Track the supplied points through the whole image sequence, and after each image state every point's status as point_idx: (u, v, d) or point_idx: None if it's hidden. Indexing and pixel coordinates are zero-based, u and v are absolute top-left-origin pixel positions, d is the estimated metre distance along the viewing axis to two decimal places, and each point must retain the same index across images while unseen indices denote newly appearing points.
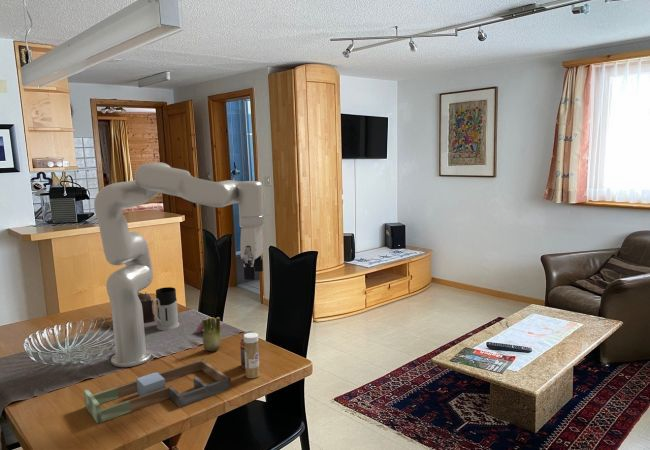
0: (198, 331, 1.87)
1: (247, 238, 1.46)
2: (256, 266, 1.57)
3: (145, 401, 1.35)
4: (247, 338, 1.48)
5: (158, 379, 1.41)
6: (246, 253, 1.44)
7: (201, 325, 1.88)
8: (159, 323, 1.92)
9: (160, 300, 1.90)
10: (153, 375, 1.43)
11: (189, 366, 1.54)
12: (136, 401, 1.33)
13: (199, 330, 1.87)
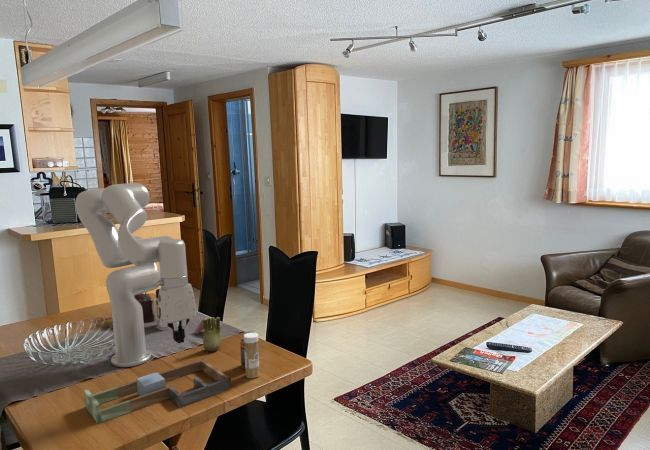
0: (197, 332, 1.87)
1: None
2: None
3: (145, 401, 1.35)
4: (247, 338, 1.48)
5: (158, 379, 1.41)
6: None
7: (200, 326, 1.87)
8: None
9: None
10: (153, 375, 1.43)
11: (189, 366, 1.54)
12: (136, 401, 1.33)
13: (198, 331, 1.87)
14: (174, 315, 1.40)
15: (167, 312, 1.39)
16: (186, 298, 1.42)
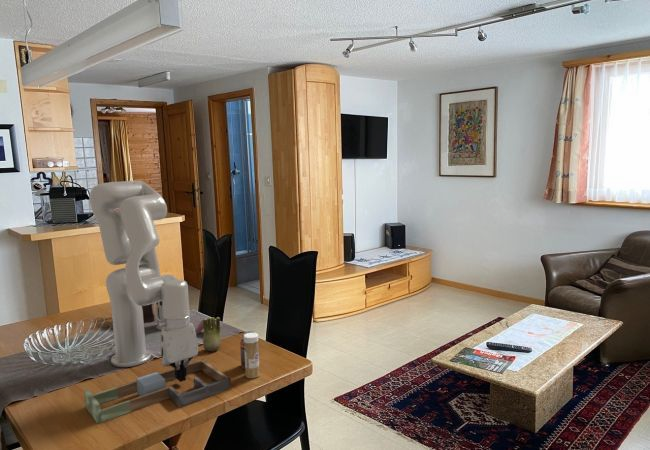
0: (197, 332, 1.86)
1: None
2: None
3: (145, 401, 1.35)
4: (247, 338, 1.48)
5: (158, 379, 1.41)
6: None
7: (200, 326, 1.87)
8: None
9: None
10: (153, 375, 1.43)
11: (189, 366, 1.54)
12: (136, 401, 1.33)
13: (198, 331, 1.87)
14: (176, 355, 1.42)
15: (169, 352, 1.41)
16: (188, 338, 1.44)
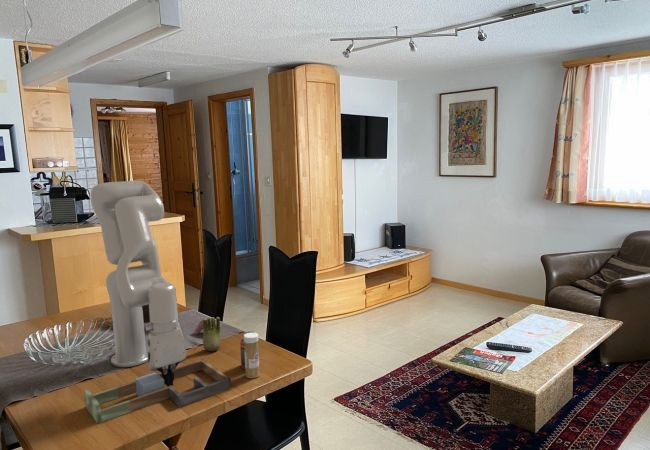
0: (196, 332, 1.86)
1: None
2: None
3: (145, 401, 1.35)
4: (247, 338, 1.48)
5: (157, 379, 1.40)
6: None
7: (199, 326, 1.87)
8: None
9: None
10: (152, 375, 1.43)
11: (189, 366, 1.54)
12: (136, 401, 1.33)
13: (197, 331, 1.86)
14: (163, 360, 1.40)
15: (156, 357, 1.39)
16: (176, 342, 1.42)
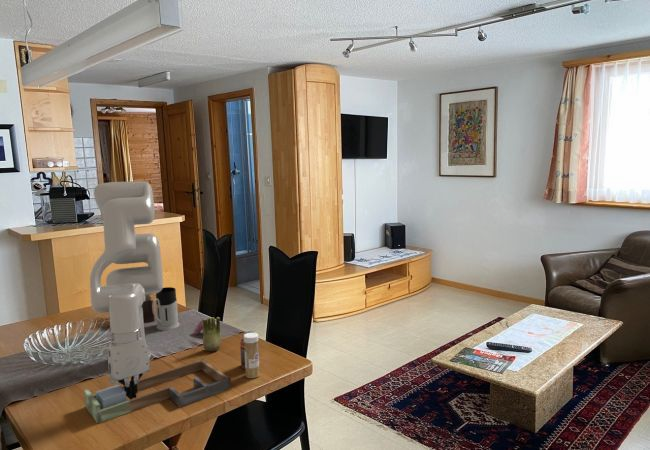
0: (196, 332, 1.86)
1: None
2: None
3: (145, 401, 1.35)
4: (247, 338, 1.48)
5: (118, 392, 1.33)
6: None
7: (199, 326, 1.87)
8: (159, 323, 1.92)
9: (160, 300, 1.90)
10: (114, 388, 1.36)
11: (189, 366, 1.54)
12: (136, 401, 1.33)
13: (197, 331, 1.86)
14: (125, 371, 1.33)
15: (117, 369, 1.32)
16: (138, 353, 1.35)
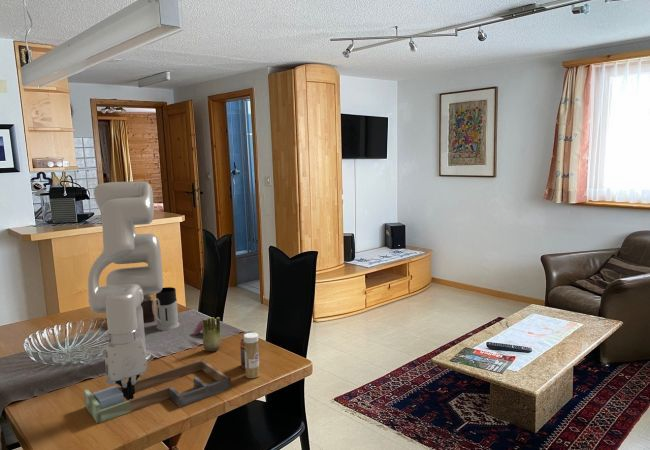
0: (195, 333, 1.86)
1: None
2: None
3: (145, 401, 1.35)
4: (247, 338, 1.48)
5: (116, 393, 1.33)
6: None
7: (198, 327, 1.86)
8: (159, 323, 1.92)
9: (160, 300, 1.90)
10: (111, 389, 1.35)
11: (189, 366, 1.54)
12: (136, 401, 1.33)
13: (196, 332, 1.86)
14: (122, 372, 1.32)
15: (114, 370, 1.31)
16: (135, 354, 1.34)
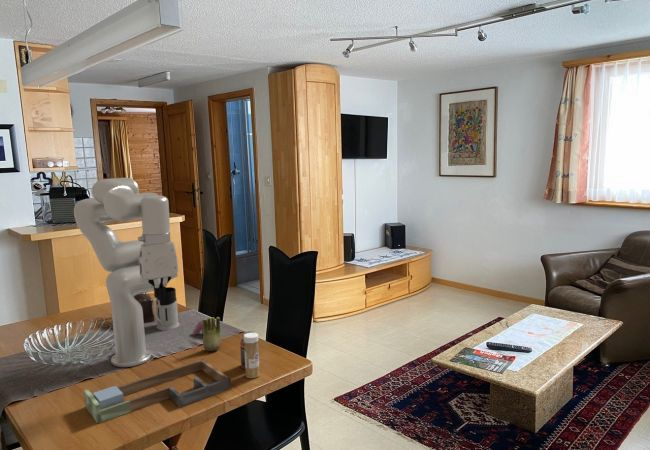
0: (195, 333, 1.85)
1: None
2: None
3: (145, 401, 1.35)
4: (247, 338, 1.48)
5: (116, 393, 1.33)
6: None
7: (198, 327, 1.86)
8: (159, 323, 1.92)
9: None
10: (111, 389, 1.35)
11: (189, 366, 1.54)
12: (136, 401, 1.33)
13: (196, 332, 1.85)
14: (154, 272, 1.40)
15: (147, 268, 1.38)
16: (168, 256, 1.41)
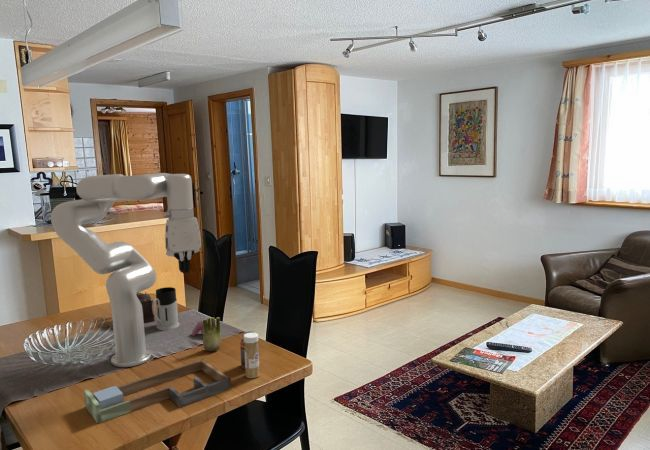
0: (194, 334, 1.85)
1: None
2: None
3: (145, 401, 1.35)
4: (247, 338, 1.48)
5: (116, 393, 1.33)
6: None
7: (197, 327, 1.86)
8: (159, 323, 1.92)
9: (160, 300, 1.90)
10: (111, 389, 1.35)
11: (189, 366, 1.54)
12: (136, 401, 1.33)
13: (195, 333, 1.85)
14: (180, 245, 1.48)
15: (174, 242, 1.47)
16: (192, 230, 1.50)
